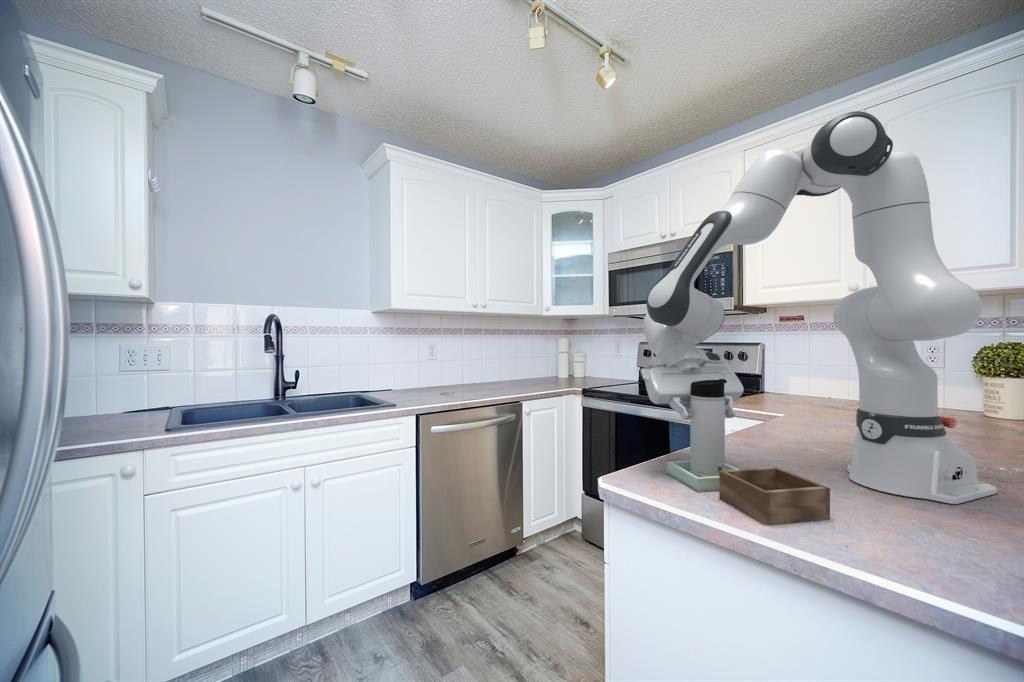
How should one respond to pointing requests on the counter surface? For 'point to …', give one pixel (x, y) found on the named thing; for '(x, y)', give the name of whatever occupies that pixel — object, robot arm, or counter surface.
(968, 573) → the counter surface
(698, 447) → the travel mug
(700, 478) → the dock
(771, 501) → the square wooden frame
